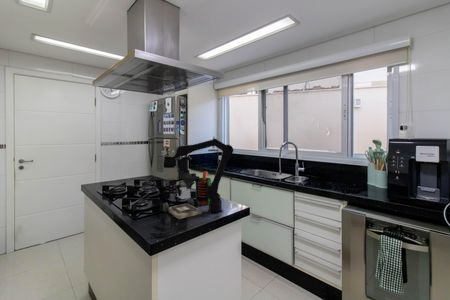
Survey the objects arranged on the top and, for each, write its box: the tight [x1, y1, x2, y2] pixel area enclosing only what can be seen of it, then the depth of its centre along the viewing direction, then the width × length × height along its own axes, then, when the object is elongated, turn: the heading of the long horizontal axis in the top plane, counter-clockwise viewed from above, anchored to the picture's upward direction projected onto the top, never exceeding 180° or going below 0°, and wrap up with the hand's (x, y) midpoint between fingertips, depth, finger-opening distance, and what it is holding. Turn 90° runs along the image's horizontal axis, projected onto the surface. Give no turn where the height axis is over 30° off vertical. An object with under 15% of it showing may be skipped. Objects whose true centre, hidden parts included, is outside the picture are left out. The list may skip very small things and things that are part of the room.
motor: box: [195, 171, 212, 206], centre depth 145 cm, size 10×9×20 cm
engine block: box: [176, 186, 191, 200], centre depth 128 cm, size 5×6×5 cm
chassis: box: [162, 197, 203, 220], centre depth 129 cm, size 17×18×5 cm
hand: (183, 195), depth 128 cm, fingers closed on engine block, 5 cm apart
